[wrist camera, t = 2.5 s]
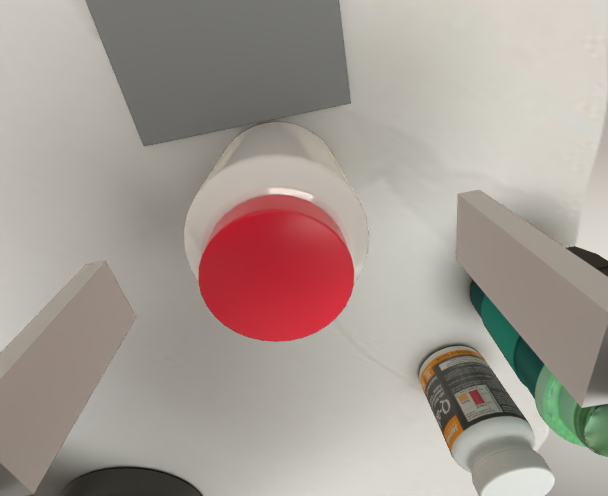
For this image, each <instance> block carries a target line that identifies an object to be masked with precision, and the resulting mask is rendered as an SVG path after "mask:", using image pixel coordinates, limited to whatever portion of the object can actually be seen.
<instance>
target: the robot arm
mask: <svg viewBox="0 0 608 496" xmlns="http://www.w3.org/2000/svg"><path fill="white" fill-rule="evenodd" d="M456 260H457V261H458V262H459V264H460V265H461V266H462V267H463V268H464V269H465V271H466V272H467V273H468V274H469V275H470V277H471V278H472V279H473V280H474V281H475V282H476V284H477V285H478V286H479V287H480V288H481V290H482V291H483V292H484V293H485V294H486V295H487V297H488V298H489V299H490V300H491V301H492V303H493V304H494V305H495V306H496V307H497V308H498V310H499V311H500V312H501V313H502V314H503V316H504V317H505V318H506V319H507V320H508V321H509V323H510V324H511V325H512V326H513V327H514V329H515V330H516V331H517V332H518V333H519V334H520V336H521V337H522V338H523V339H524V340H525V342H526V343H527V344H528V345H529V346H530V347H531V349H532V350H533V351H534V352H535V353H536V355H537V356H538V357H539V358H540V359H541V360H542V362H543V363H544V364H545V365H546V366H547V368H548V369H549V370H550V371H551V372H552V373H553V375H554V376H555V377H556V378H557V379H558V381H559V382H560V383H561V384H562V385H563V386H564V388H565V389H566V390H567V391H568V392H569V394H570V395H571V396H572V397H573V398H574V399H575V401H576V402H577V403H578V404H579V405H580V407H581V408H584V407H590V406H596V405H603V404H608V261H607V260H605V259H604V258H602V257H601V256H599V255H597V254H595V253H592V252H589V251H587V250H584V249H581V248H578V247H575V246H574V247H569V248H565V247H563V246H562V245H560V244H559V243H557V242H556V241H554V240H553V239H551V238H550V237H548V236H547V235H545V234H544V233H542V232H541V231H539V230H538V229H537V228H535V227H534V226H532V225H531V224H529V223H528V222H526V221H525V220H523V219H522V218H520V217H519V216H517V215H516V214H514V213H513V212H512V211H510V210H509V209H507V208H506V207H504V206H503V205H501V204H500V203H498V202H497V201H495V200H494V199H492V198H491V197H489V196H488V195H486V194H485V193H484V192H482V191H481V190H475V191H470V192H465V193H460V194H458V204H457V238H456ZM135 318H136V316H135V314H134V312H133V310H132V309H131V307H130V305H129V303H128V301H127V299H126V297H125V296H124V294H123V292H122V290H121V288H120V286H119V285H118V283H117V281H116V279H115V277H114V275H113V273H112V272H111V270H110V268H109V266H108V264H107V262H106V261H102V262H97V263H91V264H86V265H85V266H84V267H83V268H82V269H81V270H80V271H79V272H78V273H77V274H76V275H75V276H74V278H73V279H72V280H71V281H70V282H69V283H68V284H67V285H66V286H65V287H64V288H63V289H62V290H61V291H60V292H59V293H58V294H57V295H56V296H55V297H54V298H53V299H52V300H51V301H50V302H49V303H48V304H47V305H46V306H45V307H44V309H43V310H42V311H41V312H40V313H39V314H38V315H37V316H36V317H35V318H34V319H33V320H32V321H31V322H30V323H29V324H28V325H27V326H26V327H25V328H24V329H23V330H22V331H21V332H20V333H19V334H18V335H17V336H16V337H15V338H14V340H13V341H12V342H11V343H10V344H9V345H8V346H7V347H6V348H5V349H4V350H3V351H2V352H1V353H0V495H1V496H26V495H32V494H34V493H35V491H36V490H37V488H38V486H39V484H40V483H41V481H42V479H43V477H44V476H45V474H46V472H47V471H48V469H49V467H50V465H51V464H52V462H53V460H54V458H55V457H56V455H57V453H58V452H59V450H60V448H61V446H62V445H63V443H64V441H65V439H66V438H67V436H68V434H69V432H70V431H71V429H72V427H73V426H74V424H75V422H76V420H77V419H78V417H79V415H80V413H81V412H82V410H83V408H84V407H85V405H86V403H87V401H88V400H89V398H90V396H91V394H92V393H93V391H94V389H95V387H96V386H97V384H98V382H99V381H100V379H101V377H102V375H103V374H104V372H105V370H106V368H107V367H108V365H109V363H110V362H111V360H112V358H113V356H114V355H115V353H116V351H117V349H118V348H119V346H120V344H121V342H122V341H123V339H124V337H125V336H126V334H127V332H128V330H129V329H130V327H131V325H132V323H133V322H134V320H135ZM60 496H201V495H200V494H199V493H198V492H197V491H196V490H195V489H194V488H193V487H191V486H190V485H189V484H187V483H185V482H183V481H182V480H179V479H177V478H175V477H172V476H169V475H166V474H163V473H159V472H155V471H150V470H143V469H128V468H123V469H109V470H102V471H97V472H93V473H90V474H87V475H84V476H82V477H80V478H78V479H76V480H74V481H73V482H71V483H70V484H69V485H67V486H66V487H65V489H64V490H63V491H62V493H61V495H60Z"/></svg>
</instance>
